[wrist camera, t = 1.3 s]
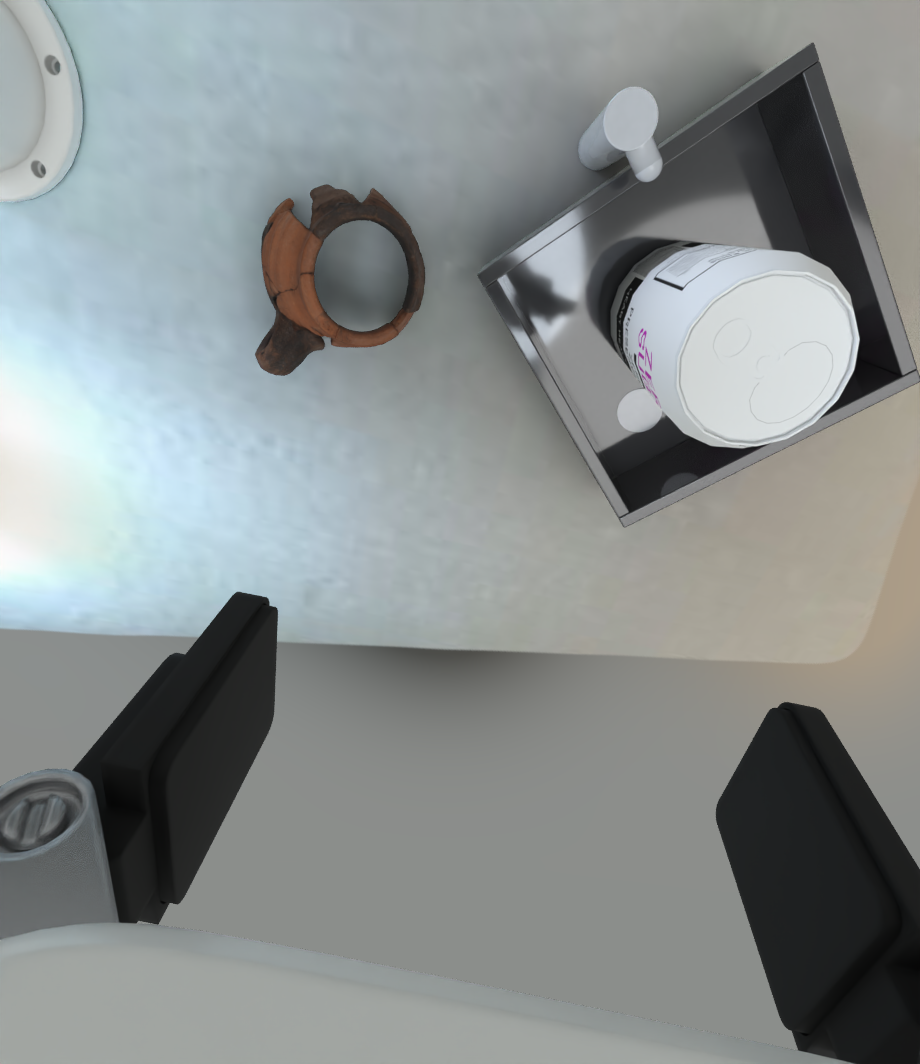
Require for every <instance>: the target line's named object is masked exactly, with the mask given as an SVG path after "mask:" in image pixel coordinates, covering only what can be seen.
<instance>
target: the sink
mask: <svg viewBox="0 0 920 1064" xmlns="http://www.w3.org/2000/svg"><path fill="white" fill-rule="evenodd" d="M818 61H819V58H818V54H817V51H816V48H815V45H814V43H811V44H809V45H807V46H806V47H804V48H802V49H801V50H799V51H797V52H796V53H794V54H792V55H790V56H789V57H787V58H785V59H784V60H782V61H780V62H779V63H777V64H775V65H774V66H772V67H770V68H769V69H767V70H765V71H764V72H762V73H761V74H759V75H758V76H756V77H755V78H753V79H752V80H750V81H749V82H748V83H746V84H745V85H743V86H742V87H740V88H739V89H738V90H736V91H735V92H733V93H732V94H730V95H729V96H727V97H726V98H725V99H723V100H722V101H720V102H719V103H717V104H716V105H714V106H713V107H712V108H710V109H709V110H707V111H706V112H704V113H703V114H702V115H700V116H699V117H697V118H696V119H694V120H693V121H691V122H690V123H689V124H687V125H686V126H684V127H683V128H681V129H680V130H679V131H677V132H676V133H674V134H673V135H671V136H670V137H668V138H667V139H666V140H664V141H663V142H661V143H660V144H658V145H656V143H655V140H654V138H653V136H652V135H653V134H654V132H655V129H656V127H657V123H658V114H659V113H658V106H657V103H656V100H655V98H654V97H653V95H652V94H651V93H650V92H649V91H647V90H646V89H644V88H641V87H634V86H633V87H628V88H625V89H623V90H621V91H620V92H618V93H617V94H616V95H615V96H614V97H613V98H612V99H611V100H610V102H609V103H608V104H607V105H606V107H605V108H604V109H603V110H602V111H601V113H600V114H599V115H598V116H597V118H596V119H595V120H594V121H593V122H592V124H591V125H590V126H589V127H588V129H587V130H586V131H585V132H584V134H583V135H582V137H581V139H580V141H579V145H578V154H579V158H580V161H581V162H582V164H583V165H584V166H585V167H586V168H588V169H590V170H601V169H604V168H606V167H607V166H609V165H611V164H613V163H614V162H616V161H618V160H620V159H621V158H623V157H625V156H627V159H628V161H629V163H630V165H628V166H627V167H625V168H624V169H622V170H621V171H619V172H618V173H617V174H615V175H614V176H612V177H611V178H609V179H608V180H607V181H605V182H604V183H602V184H601V185H599V186H598V187H596V188H595V189H594V190H592V191H591V192H589V193H588V194H586V195H585V196H583V197H582V198H581V199H579V200H578V201H576V202H575V203H573V204H572V205H571V206H569V207H568V208H566V209H565V210H563V211H562V212H560V213H559V214H558V215H556V216H555V217H553V218H552V219H550V220H549V221H547V222H546V223H545V224H543V225H542V226H540V227H539V228H537V229H536V230H535V231H533V232H532V233H530V234H529V235H527V236H526V237H524V238H523V239H522V240H520V241H519V242H517V243H516V244H514V245H513V246H511V247H510V248H509V249H507V250H506V251H504V252H503V253H501V254H500V255H499V256H497V257H496V258H494V259H493V260H491V261H490V262H488V263H487V264H486V265H484V266H483V267H482V268H481V270H480V271H479V273H478V275H477V276H478V278H479V279H480V281H481V283H482V285H483V286H484V288H485V289H486V291H487V293H488V295H489V297H490V298H491V300H492V302H493V304H494V305H495V307H496V309H497V310H498V312H499V314H500V316H501V317H502V319H503V321H504V322H505V324H506V326H507V328H508V329H509V331H510V333H511V334H512V336H513V338H514V340H515V341H516V343H517V345H518V347H519V348H520V350H521V352H522V353H523V355H524V357H525V359H526V360H527V362H528V364H529V365H530V367H531V369H532V371H533V372H534V374H535V376H536V377H537V379H538V381H539V383H540V384H541V386H542V388H543V390H544V391H545V393H546V395H547V396H548V398H549V400H550V402H551V403H552V405H553V407H554V408H555V410H556V412H557V414H558V415H559V417H560V419H561V420H562V422H563V424H564V426H565V427H566V429H567V431H568V433H569V434H570V436H571V438H572V439H573V441H574V443H575V445H576V446H577V448H578V450H579V451H580V453H581V455H582V457H583V458H584V460H585V462H586V463H587V465H588V467H589V469H590V470H591V472H592V474H593V476H594V477H595V479H596V481H597V482H598V484H599V486H600V488H601V489H602V491H603V493H604V494H605V496H606V498H607V500H608V501H609V503H610V505H611V506H612V508H613V510H614V512H615V513H616V515H617V517H618V518H619V520H620V522H621V524H622V525H623V527H627V526H629V525H631V524H633V523H635V522H637V521H639V520H641V519H643V518H645V517H647V516H649V515H651V514H653V513H655V512H657V511H659V510H661V509H663V508H665V507H667V506H669V505H671V504H673V503H675V502H677V501H680V500H682V499H684V498H686V497H688V496H690V495H692V494H694V493H696V492H698V491H700V490H702V489H704V488H706V487H708V486H710V485H712V484H714V483H716V482H718V481H720V480H722V479H724V478H726V477H728V476H730V475H732V474H734V473H736V472H738V471H740V470H742V469H744V468H746V467H748V466H750V465H752V464H754V463H757V462H759V461H761V460H763V459H765V458H767V457H769V456H771V455H773V454H775V453H777V452H779V451H781V450H783V449H785V448H787V447H789V446H791V445H793V444H795V443H797V442H799V441H801V440H803V439H805V438H807V437H809V436H811V435H813V434H815V433H817V432H819V431H821V430H823V429H825V428H827V427H829V426H831V425H833V424H836V423H838V422H840V421H842V420H844V419H846V418H848V417H850V416H852V415H854V414H856V413H858V412H860V411H862V410H864V409H866V408H868V407H870V406H872V405H874V404H876V403H878V402H880V401H882V400H884V399H886V398H888V397H890V396H892V395H894V394H896V393H898V392H900V391H902V390H904V389H906V388H908V387H910V386H913V385H915V384H917V383H919V382H920V376H919V373H918V370H917V366H916V363H915V360H914V357H913V354H912V350H911V347H910V344H909V341H908V338H907V335H906V332H905V328H904V325H903V322H902V319H901V316H900V313H899V309H898V306H897V303H896V300H895V297H894V294H893V291H892V287H891V284H890V281H889V278H888V275H887V272H886V269H885V265H884V262H883V259H882V256H881V253H880V250H879V247H878V243H877V240H876V237H875V234H874V231H873V228H872V224H871V221H870V218H869V215H868V212H867V209H866V206H865V202H864V199H863V196H862V193H861V190H860V187H859V184H858V180H857V177H856V174H855V171H854V168H853V165H852V161H851V158H850V155H849V152H848V149H847V146H846V143H845V139H844V136H843V133H842V130H841V127H840V124H839V121H838V117H837V114H836V111H835V108H834V105H833V102H832V99H831V95H830V92H829V89H828V86H827V83H826V80H825V76H824V73H823V70H822V67H821V64H820V62H818ZM757 105H758V106H757ZM758 108H759V109H758ZM760 113H761V114H760ZM761 116H762V117H761ZM762 119H763V120H762ZM763 122H764V123H763ZM765 127H766V128H765ZM766 130H767V131H766ZM767 133H768V134H767ZM769 138H770V139H769ZM770 141H771V142H770ZM771 144H772V145H771ZM773 149H774V150H773ZM774 152H775V153H774ZM775 155H776V156H775ZM777 160H778V161H777ZM778 163H779V164H778ZM779 166H780V167H779ZM782 174H783V175H782ZM783 177H784V178H783ZM784 180H785V181H784ZM786 185H787V186H786ZM787 188H788V189H787ZM788 191H789V192H788ZM790 196H791V197H790ZM791 199H792V200H791ZM792 202H793V203H792ZM794 207H795V208H794ZM795 210H796V211H795ZM796 213H797V214H796ZM799 221H800V222H799ZM800 224H801V225H800ZM801 227H802V228H801ZM803 232H804V233H803ZM804 235H805V236H804ZM805 238H806V239H805ZM681 241H685V242H701V243H713V244H723V245H732V246H742V247H751V248H761V249H771V250H780V251H790V252H799V253H801V254H803V255H805V256H807V257H809V258H811V259H813V260H815V261H817V262H819V263H821V264H823V265H825V266H827V267H829V268H830V269H831V270H832V271H833V273H834V274H835V275H836V277H837V278H838V279H839V281H840V282H841V283H842V285H843V286H844V287H845V289H846V290H847V291H848V293H849V294H850V297H851V301H852V306H853V310H854V314H855V319H856V324H857V329H858V333H859V338H860V340H859V346H858V351H857V357H856V363H855V368H854V371H853V373H852V375H851V377H850V379H849V381H848V383H847V384H846V386H845V388H844V390H843V392H842V394H841V395H840V397H839V399H838V400H837V401H836V402H835V403H834V404H833V405H832V406H831V407H830V408H829V409H828V410H827V411H826V412H825V413H824V414H823V415H822V416H821V417H820V418H819V419H818V420H817V421H816V422H815V423H814V424H812V425H811V426H809V427H807V428H805V429H803V430H802V431H800V432H798V433H796V434H795V435H793V436H791V437H789V438H788V439H785V440H781V441H777V442H773V443H768V444H764V445H760V446H751V447H746V448H732V447H719V446H710V445H708V444H706V443H704V442H701V441H699V440H697V439H695V438H693V437H691V436H688V435H686V434H684V433H683V432H682V431H681V430H680V429H679V428H678V427H677V426H676V424H675V423H674V422H673V421H672V420H671V419H670V418H669V417H668V416H667V415H666V414H665V413H664V412H663V410H662V409H661V408H660V407H659V405H658V404H657V403H656V402H655V400H654V399H653V398H652V397H651V395H650V394H649V393H648V392H647V390H646V389H645V388H644V387H643V385H642V384H641V383H640V382H639V380H638V379H637V378H636V377H635V375H634V374H633V373H632V372H631V370H630V369H629V368H628V367H627V365H626V364H625V363H624V362H623V360H622V359H621V358H620V357H619V355H618V353H617V350H616V347H615V345H614V342H613V339H612V337H611V308H612V305H613V302H614V299H615V296H616V293H617V290H618V287H619V285H620V284H621V283H622V281H623V280H624V279H625V277H626V276H627V275H628V273H629V272H630V270H631V269H632V268H633V266H634V265H635V264H636V263H638V262H639V261H641V260H642V259H643V258H645V257H646V256H647V255H649V254H650V253H652V252H653V251H654V250H656V249H658V248H661V247H664V246H668V245H671V244H674V243H677V242H681ZM807 243H808V244H807ZM808 246H809V247H808ZM809 249H810V250H809ZM811 254H812V255H811ZM812 257H813V258H812ZM505 282H506V283H505ZM509 289H510V290H509ZM522 312H523V313H522ZM535 335H536V336H535ZM548 358H549V359H548ZM552 365H553V366H552ZM565 388H566V389H565ZM578 411H579V412H578ZM591 434H592V435H591ZM679 443H680V444H679ZM677 444H678V445H677ZM675 445H676V446H675ZM673 446H674V447H673ZM671 447H672V448H671ZM658 454H659V455H658ZM656 455H657V456H656ZM654 456H655V457H654ZM652 457H653V458H652ZM650 458H651V459H650ZM608 464H609V465H608ZM637 465H638V466H637ZM635 466H636V467H635ZM633 467H634V468H633ZM631 468H632V469H631ZM618 475H619V476H618ZM616 476H617V477H616Z"/></svg>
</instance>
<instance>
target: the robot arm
mask: <svg viewBox="0 0 920 1064" xmlns="http://www.w3.org/2000/svg"><path fill="white" fill-rule="evenodd" d="M82 127H83V100H82V94H81V88H80V82H79V76H78V72H77V69H76V65H75V62H74V59H73V56H72V53H71V50H70V47H69V45H68V42H67V40H66V38H65V36H64V34H63V32H62V30H61V27H60V25H59V23H58V21H57V20H56V18H55V16H54V15H53V13H52V12H51V10H50V9H49V7H48V5H47V4H46V2H45V1H44V0H0V202H19V201H25V200H30V199H34V198H36V197H38V196H40V195H42V194H45V193H47V192H49V191H50V190H51V189H52V188H53V187H55V186H56V185H57V184H58V183H59V182H60V181H61V180H62V179H63V178H64V176H65V175H66V173H67V172H68V170H69V169H70V167H71V166H72V164H73V161H74V159H75V156H76V153H77V151H78V148H79V145H80V139H81V133H82ZM277 622H278V610H277V608H276V607H272V606H269V600H268V598H267V597H262V596H257V595H252V594H247V593H242V592H236V593H235V594H234V595H233V596H232V597H231V598H230V599H229V601H228V602H227V603H226V604H225V606H224V607H223V608H222V609H221V611H220V612H219V613H218V614H217V616H216V617H215V618H214V619H213V621H212V622H211V623H210V625H209V626H208V627H207V628H206V630H205V631H204V632H203V633H202V635H201V636H200V637H199V638H198V640H197V641H196V642H195V643H194V645H193V646H192V647H191V648H190V650H189V651H188V652H187V653H186V655H184V654H180V653H174V654H172V655H170V656H169V657H168V658H167V659H166V660H165V661H164V662H163V663H162V664H161V665H160V667H159V668H158V669H157V670H156V671H155V672H154V674H153V675H152V676H151V677H150V679H149V680H148V681H147V682H146V683H145V685H144V686H143V687H142V688H141V689H140V690H139V692H138V693H137V694H136V695H135V696H134V698H133V699H132V700H131V701H130V702H129V704H128V705H127V706H126V707H125V708H124V710H123V711H122V712H121V713H120V714H119V716H118V717H117V718H116V719H115V720H114V721H113V723H112V724H111V725H110V726H109V727H108V729H107V730H106V731H105V732H104V733H103V735H102V736H101V737H100V738H99V739H98V741H97V742H96V743H95V744H94V745H93V747H92V748H91V749H90V750H89V751H88V753H87V754H86V755H85V756H84V757H83V758H82V760H81V761H80V762H79V763H78V764H77V766H76V767H75V768H74V769H73V770H72V771H71V770H67V769H45V770H40V771H36V772H31V773H27V774H25V775H23V776H20V777H17V778H15V779H13V780H10V781H8V782H7V783H5V784H4V785H2V786H1V787H0V1064H920V869H919V867H918V866H917V864H916V863H915V861H914V859H913V858H912V856H911V855H910V853H909V851H908V850H907V848H906V846H905V845H904V844H903V842H902V840H901V838H900V837H899V835H898V833H897V832H896V830H895V829H894V827H893V825H892V824H891V822H890V820H889V819H888V817H887V816H886V814H885V812H884V811H883V809H882V808H881V806H880V804H879V803H878V801H877V799H876V798H875V796H874V795H873V793H872V791H871V790H870V788H869V786H868V785H867V783H866V782H865V780H864V778H863V777H862V775H861V773H860V772H859V770H858V769H857V767H856V765H855V764H854V762H853V761H852V759H851V757H850V756H849V754H848V752H847V751H846V749H845V748H844V746H843V745H842V743H841V741H840V739H839V738H838V736H837V735H836V733H835V732H834V730H833V728H832V727H831V725H830V723H829V722H828V720H827V718H826V717H825V715H824V714H823V713H822V712H821V710H819V709H817V708H814V707H809V706H804V705H799V704H794V703H789V702H784V703H782V704H780V705H779V707H778V708H772V709H770V710H769V712H768V713H767V715H766V717H765V718H764V720H763V722H762V724H761V726H760V727H759V729H758V731H757V733H756V735H755V737H754V738H753V740H752V742H751V744H750V746H749V747H748V749H747V751H746V753H745V754H744V756H743V758H742V760H741V762H740V764H739V765H738V767H737V769H736V771H735V772H734V774H733V776H732V778H731V779H730V781H729V783H728V785H727V787H726V789H725V790H724V792H723V794H722V796H721V797H720V799H719V801H718V804H717V808H716V821H717V825H718V828H719V831H720V834H721V837H722V840H723V843H724V846H725V849H726V852H727V856H728V859H729V862H730V865H731V868H732V871H733V874H734V877H735V880H736V883H737V887H738V890H739V893H740V896H741V899H742V902H743V905H744V908H745V911H746V914H747V917H748V921H749V924H750V927H751V930H752V933H753V936H754V939H755V942H756V945H757V948H758V951H759V955H760V957H761V961H762V964H763V967H764V970H765V973H766V976H767V979H768V982H769V985H770V988H771V992H772V995H773V998H774V1001H775V1004H776V1007H777V1010H778V1013H779V1016H780V1018H781V1021H782V1023H783V1024H784V1026H785V1027H786V1028H787V1029H788V1030H792V1033H793V1036H794V1039H795V1042H796V1045H797V1048H798V1050H793V1049H788V1048H783V1047H779V1046H774V1045H769V1044H764V1043H759V1042H755V1041H750V1040H745V1039H740V1038H736V1037H731V1036H726V1035H722V1034H717V1033H712V1032H708V1031H703V1030H698V1029H693V1028H689V1027H684V1026H679V1025H675V1024H670V1023H665V1022H660V1021H656V1020H651V1019H646V1018H641V1017H637V1016H632V1015H627V1014H622V1013H617V1012H612V1011H607V1010H603V1009H598V1008H593V1007H588V1006H583V1005H578V1004H574V1003H569V1002H564V1001H559V1000H554V999H549V998H544V997H540V996H535V995H530V994H524V993H519V992H515V991H510V990H505V989H500V988H496V987H490V986H485V985H481V984H475V983H471V982H466V981H461V980H456V979H451V978H446V977H441V976H436V975H431V974H426V973H421V972H416V971H411V970H406V969H401V968H396V967H391V966H386V965H381V964H376V963H371V962H366V961H361V960H356V959H351V958H346V957H341V956H336V955H331V954H326V953H321V952H316V951H311V950H306V949H301V948H295V947H290V946H284V945H279V944H273V943H267V942H262V941H256V940H251V939H245V938H240V937H234V936H229V935H223V934H218V933H212V932H207V931H201V930H193V929H184V928H177V927H169V926H161V925H153V924H159V922H160V920H161V918H162V916H163V914H164V913H165V911H166V909H167V907H168V905H169V903H173V904H179V903H180V902H181V901H182V899H183V898H184V896H185V895H186V893H187V891H188V889H189V887H190V885H191V883H192V881H193V879H194V877H195V875H196V873H197V871H198V869H199V867H200V865H201V864H202V862H203V859H204V858H205V856H206V854H207V852H208V850H209V848H210V846H211V844H212V842H213V840H214V838H215V836H216V834H217V832H218V830H219V828H220V826H221V824H222V822H223V820H224V818H225V816H226V814H227V812H228V811H229V809H230V807H231V805H232V803H233V800H234V799H235V797H236V795H237V793H238V791H239V789H240V787H241V785H242V783H243V781H244V779H245V777H246V775H247V773H248V771H249V769H250V767H251V766H252V764H253V762H254V760H255V758H256V756H257V754H258V752H259V750H260V748H261V746H262V744H263V742H264V740H265V738H266V736H267V734H268V732H269V730H270V727H271V724H272V721H273V716H274V702H275V676H276V674H275V673H276V649H277ZM138 921H143V922H148V923H153V924H136V923H137V922H138Z"/></svg>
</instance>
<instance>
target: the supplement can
mask: <svg viewBox="0 0 920 1064" xmlns="http://www.w3.org/2000/svg"><path fill="white" fill-rule="evenodd" d="M611 337H612V339H613V342H614V345H615V347H616V350H617V353H618V355H619V357H620V358H621V359H622V360H623V362H624V363H625V364H626V365H627V367H628V368H629V369H630V370H631V372H632V373H633V374H634V375H635V377H636V378H637V379H638V380H639V382H640V383H641V384H642V385H643V387H644V388H645V389H646V390H647V392H648V393H649V394H650V395H651V397H652V398H653V399H654V400H655V402H656V403H657V404H658V405H659V407H660V408H661V409H662V410H663V412H664V413H665V414H666V415H667V416H668V417H669V418H670V419H671V420H672V421H673V422H674V423H675V424H676V426H677V427H678V428H679V429H680V430H681V431H682V432H683V433H684V434H686V435H688V436H691V437H693V438H695V439H697V440H699V441H701V442H704V443H706V444H708V445H710V446H719V447H732V448H746V447H751V446H760V445H764V444H768V443H773V442H777V441H781V440H785V439H788V438H789V437H791V436H793V435H795V434H796V433H798V432H800V431H802V430H803V429H805V428H807V427H809V426H811V425H812V424H814V423H815V422H816V421H817V420H818V419H819V418H820V417H821V416H822V415H823V414H824V413H825V412H826V411H827V410H828V409H829V408H830V407H831V406H832V405H833V404H834V403H835V402H836V401H837V400H838V399H839V397H840V395H841V394H842V392H843V390H844V388H845V386H846V384H847V383H848V381H849V379H850V377H851V375H852V373H853V371H854V368H855V363H856V357H857V351H858V346H859V340H860V338H859V333H858V329H857V324H856V319H855V314H854V310H853V306H852V301H851V297H850V294H849V293H848V291H847V290H846V289H845V287H844V286H843V285H842V283H841V282H840V281H839V279H838V278H837V277H836V275H835V274H834V273H833V271H832V270H831V269H830V268H829V267H827V266H825V265H823V264H821V263H819V262H817V261H815V260H813V259H811V258H809V257H807V256H805V255H803V254H801V253H799V252H790V251H780V250H771V249H761V248H751V247H742V246H732V245H723V244H713V243H701V242H685V241H681V242H677V243H674V244H671V245H668V246H664V247H661V248H658V249H656V250H654V251H653V252H652V253H650V254H649V255H647V256H646V257H645V258H643V259H642V260H641V261H639V262H638V263H636V264H635V265H634V266H633V268H632V269H631V270H630V272H629V273H628V275H627V276H626V277H625V279H624V280H623V281H622V283H621V284H620V285H619V287H618V290H617V293H616V296H615V299H614V302H613V305H612V308H611Z"/></svg>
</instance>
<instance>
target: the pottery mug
mask: <svg viewBox="0 0 920 1064" xmlns="http://www.w3.org/2000/svg"><path fill="white" fill-rule="evenodd" d="M310 196H311V198H312V200H313V203H312V217H311V224H310V229H308V228H306V227H305V226H304V225H303V224H302V223H301V222H300V221H299V220H298V219H297V218H296V217H295V216H294V215H293V213H292V212H291V210H292V208H293V207H294V202H293V200H292V199H290V198H288V199H286V200H285V201H284V202H282V203H281V204H280V205H279V206H278V207H277V208H276V210H275V212H274V213H273V214H272V216H271V217H270V218H269V220H268V223H267V225H266V227H265V229H264V232H263V235H262V248H261V255H262V269H263V276H264V281H265V286H266V289H267V292H268V295H269V298H270V300H271V302H272V304H273V306H274V308H275V310H276V318H275V322H274V325H273V326H272V328H271V329H270V331H269V332H268V333H267V335H266V336H265V337H264V339H263V340H262V342H261V344H260V345H259V347H258V349H257V351H256V353H255V356H256V358H257V360H258V363H259V365H260V367H261V368H262V369H263V370H265V371H267V372H269V373H271V374H274V375H281V376H285V375H288V374H290V373H291V372H292V371H293V370H294V369H295V368H296V367H298V366H299V365H300V364H301V363H302V362H303V360H304V359H305V358H306V357H307V355H309V354H310V353H311V352H313V351H316V350H323V349H324V347H325V343H324V340H323V338H322V337H323V336H326V337H330V338H331V345H333V346H337V347H372V346H377V345H382V344H385V343H386V342H388V341H390V340H392V339H393V338H395V337H396V336H397V335H398V334H399V333H400V332H401V331H402V330H403V328H404V327H405V326H406V325H407V323H408V322H409V320H410V319H411V317H412V315H413V313H414V312H416V311H417V310H419V307H420V305H421V301H422V298H423V293H424V284H425V267H424V263H423V258H422V255H421V253H420V250H419V246H418V243H417V241H416V239H415V237H414V235H413V234H412V231H411V228H410V226H409V225H408V223H407V222H406V220H405V219H404V218H403V217H402V216H401V215H400V214H399V212H397V211H396V210H395V209H394V208H393V206H392V205H391V204H390V203H389V202H388V201H387V200H386V199H385V198H384V197H383V196H382V195H381V194H380V193H379V192H378V191H376V190H375V189H374V188H372V189H371V191H370V194H369V195H368V196H367V198H366V199H365V201H364V202H362V203H360V202H359V201H358V200H357V199H356V198H355V197H354V196H353V195H352V194H350V193H349V192H347V191H345V190H342V189H335V188H333V187H332V186H330V185H323V186H320V187H317V188H314V189H313V190H311V192H310ZM356 220H368V221H369V220H370V221H373V222H375V223H378V224H380V225H381V226H383V227H385V228H386V229H387V230H389V231H390V232H391V233H392V234H393V235H394V237H395V238H396V239H397V240H398V242H399V243H400V245H401V247H402V249H403V251H404V253H405V257H406V261H407V266H408V274H409V280H408V288H407V293H406V297H405V300H404V303H403V306H402V309H401V310H400V311H399V313H398V314H397V316H396V317H395V318H394V319H393V320H392V321H391V322H390V323H387V324H385V325H383V326H382V327H380V328H378V329H375V330H372V331H366V332H359V331H352V330H349V329H346V328H344V327H342V326H340V325H338V324H337V323H335V322H334V321H333V320H332V319H331V318H330V317H329V316H328V315H327V313H326V312H325V310H324V309H323V307H322V305H321V304H320V301H319V299H318V296H317V293H316V289H315V282H314V270H315V263H316V258H317V255H318V253H319V250H320V248H321V246H322V244H323V242H324V239H325V238H326V237H327V236H328V235H329V234H330V233H331V232H332V231H333V230H335V229H336V228H337V227H339V226H341V225H342V224H345V223H348V222H351V221H356ZM321 336H322V337H321Z"/></svg>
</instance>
